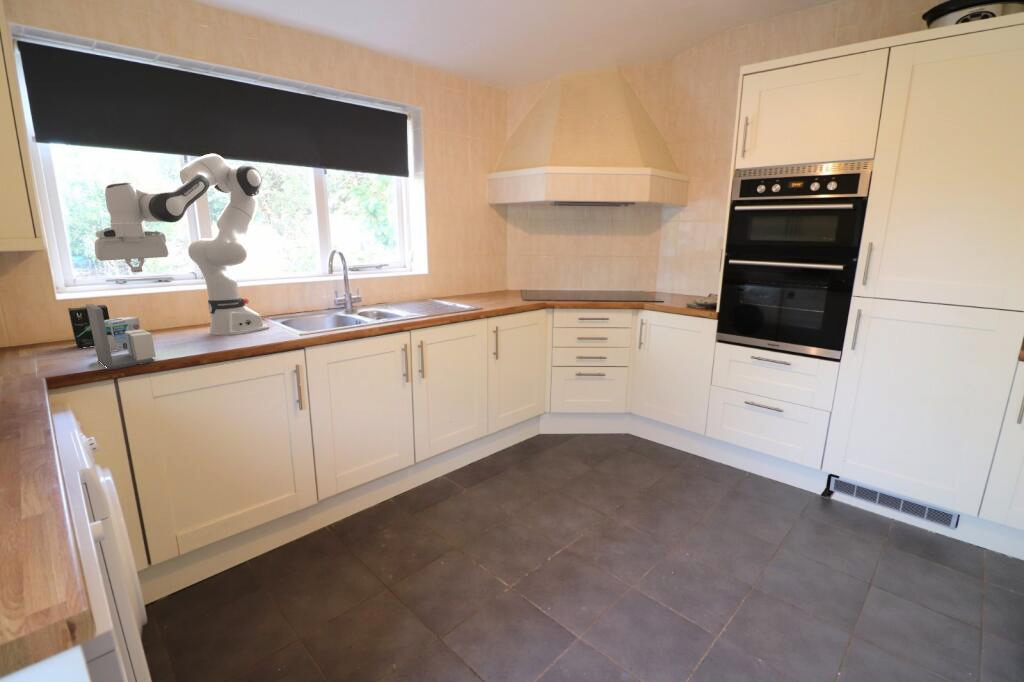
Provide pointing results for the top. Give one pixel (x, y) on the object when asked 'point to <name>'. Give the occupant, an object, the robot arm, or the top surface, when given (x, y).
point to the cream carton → (140, 344)
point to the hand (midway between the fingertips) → (137, 271)
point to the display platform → (103, 344)
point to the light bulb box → (120, 331)
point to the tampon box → (84, 325)
